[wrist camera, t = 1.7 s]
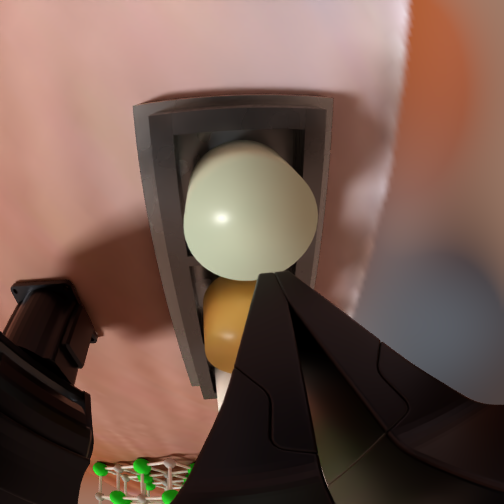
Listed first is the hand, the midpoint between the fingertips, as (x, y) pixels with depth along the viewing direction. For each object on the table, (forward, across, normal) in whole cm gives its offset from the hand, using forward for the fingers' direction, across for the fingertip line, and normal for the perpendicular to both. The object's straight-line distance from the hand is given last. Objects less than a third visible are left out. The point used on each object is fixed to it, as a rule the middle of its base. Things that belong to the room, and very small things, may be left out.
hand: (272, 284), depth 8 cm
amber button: (+7, 0, +7) cm, 10 cm away
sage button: (+7, 0, 0) cm, 7 cm away
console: (+10, 0, +7) cm, 12 cm away
